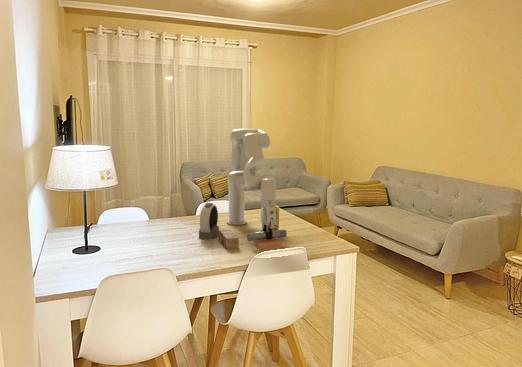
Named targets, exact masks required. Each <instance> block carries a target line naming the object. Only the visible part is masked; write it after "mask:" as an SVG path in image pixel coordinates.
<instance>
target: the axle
mask: <svg viewBox="0 0 522 367" xmlns="http://www.w3.org/2000/svg"><path fill="white" fill-rule="evenodd" d="M266 232H267V231H264V232H262V231H255V232H247V233H246V239H247V242H252V241H253V242H254V240H264V239H266ZM287 235H288V234H287V230H286V229H279V230H274V231H273V232H272V239H274V238H277V239H282V238H287Z"/></svg>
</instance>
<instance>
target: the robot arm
mask: <svg viewBox="0 0 522 367" xmlns="http://www.w3.org/2000/svg"><path fill="white" fill-rule="evenodd" d="M230 141H231V142H230V143H231V148H232V150H231V158H230V166H231V169H232V170H233V171H231V172H229V173H228V174H227V177H226V180H227V186H228V188H227V189H228V218H227V219H226V221H225V223H226V224H228V225H231V226H240V225H245V224H247V222H248V220H247V219H245V193H244V191H243V189H241V188H247V190H249V191H253V192H254V191H260V207H261V209H260V222H261V225H262V224H263V232H264V231H267V232H266V239H267V240H269V239H272V232H273V229H274V226H275V225H276V209H275V206H276V205H277V203H276V202H277V201H276V200H277V198H276V197H277V180H276V178H274V177H272V176H271V175H269V174H268V175H267V174H264V175H263V174H262V175H259V174H258V165H259V164H260V163H261V162H263V161H264V158H265V157H264V156H265V155H264V152H263V150H262V149H267V148H269V147H270V144H271V139H270V136H269V134H267V133H266V131H263V130H261V129H259V128H236V129H233V130H232V131H231V133H230ZM257 174H258V175H257ZM269 224H270V225H269ZM269 227H270V228H269Z"/></svg>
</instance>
